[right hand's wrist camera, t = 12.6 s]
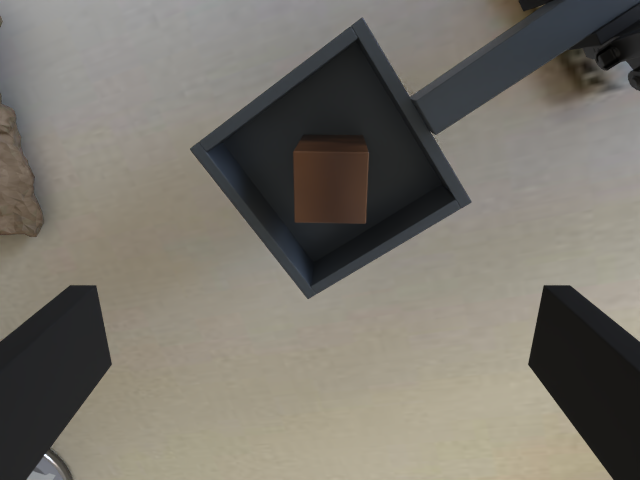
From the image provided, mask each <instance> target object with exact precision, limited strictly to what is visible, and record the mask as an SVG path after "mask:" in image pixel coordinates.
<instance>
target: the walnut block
mask: <svg viewBox="0 0 640 480" xmlns="http://www.w3.org/2000/svg"><path fill="white" fill-rule="evenodd" d="M368 166H369V152H368V149H367V145H366V142H365V139H364V136H363V135H303V136H302V138H301V139H300V141H299V143H298V144H297V146H296V148H295V150H294V151H293V173H294V220H295V222H296V223H353V224H365V223H366V211H367V188H368Z"/></svg>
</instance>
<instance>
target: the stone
mask: <svg viewBox="0 0 640 480" xmlns="http://www.w3.org/2000/svg"><path fill="white" fill-rule="evenodd" d="M2 22H3V21H2V19H1V16H0V27H1V24H2ZM34 178H35V176H34V175H33V173H32V171H31V168H30V167H29V165H28V160H27V159H26V158H25V157H24V155H23V152H22V149H21V136H20V134H19V132H18V129H17V125H16V115H15V112H14V110H13V109H12V108H10V107H8V106H5V105H3V104H2V103H1V94H0V235H10V234H26V235H28V236H31V237H37V235H38V233H39V231H40V229H41V227H42V225H43V224H44V221H43V215H42V211H41V208H40V206H39V203H38V201H37V199H36V197H35V195H34V186H33V183H34Z"/></svg>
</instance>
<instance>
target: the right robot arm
mask: <svg viewBox="0 0 640 480" xmlns="http://www.w3.org/2000/svg"><path fill="white" fill-rule="evenodd" d="M111 365H112V363H111V358H110V353H109V348H108V343H107V338H106V333H105V328H104V323H103V317H102V312H101V307H100V302H99V297H98V292H97V287H96V285H70V286H69V287H68V288H66V289H65V290H64V291H63V292H61V293H60V294H59V295H58V296H56V297H55V298H54V299H53V300H51V301H50V302H49V303H48V304H47V305H45V306H44V307H43V308H42V309H40V310H39V311H38V312H37V313H35V314H34V315H33V316H32V317H30V318H29V319H28V320H27V321H25V322H24V323H23V324H22V325H21V326H19V327H18V328H17V329H16V330H14V331H13V332H12V333H11V334H9V335H8V336H7V337H6V338H4V339H3V340H2V341H1V342H0V480H72V477H71V474H70V472H69V470H68V468H67V467H66V465H65V464H64V462H63V461H62V460H61V459H60V458H59V457H58V456H57V455H56V454H55V453H54V452H53V451H51V450H50V447H51V446H52V445H53V443H54V442H55V440H56V439H57V438H58V436H59V435H60V434H61V432H62V431H63V430H64V428H65V427H66V426H67V424H68V423H69V422H70V420H71V419H72V418H73V416H74V415H75V413H76V412H77V411H78V409H79V408H80V407H81V405H82V404H83V403H84V401H85V400H86V399H87V397H88V396H89V395H90V393H91V392H92V391H93V389H94V388H95V386H96V385H97V384H98V382H99V381H100V380H101V378H102V377H103V376H104V374H105V373H106V372H107V370H108V369H109V368H110V366H111ZM528 365H529V366H530V368H531V369H532V370H533V372H534V373H535V374H536V376H537V377H538V378H539V380H540V381H541V382H542V384H543V385H544V386H545V388H546V389H547V391H548V392H549V393H550V395H551V396H552V397H553V399H554V400H555V401H556V403H557V404H558V405H559V407H560V408H561V409H562V411H563V412H564V413H565V415H566V416H567V418H568V419H569V420H570V422H571V423H572V424H573V426H574V427H575V428H576V430H577V431H578V432H579V434H580V435H581V436H582V438H583V439H584V440H585V442H586V443H587V445H588V446H589V447H590V449H591V450H592V451H593V453H594V454H595V455H596V457H597V458H598V459H599V461H600V462H601V463H602V465H603V466H604V467H605V469H606V470H607V472H608V473H609V474H610V476H611V477H612V478H613V480H640V342H639V341H638V340H637V339H636V338H634V337H633V336H632V335H631V334H629V333H628V332H627V331H626V330H624V329H623V328H622V327H621V326H619V325H618V324H617V323H616V322H615V321H613V320H612V319H611V318H610V317H608V316H607V315H606V314H605V313H603V312H602V311H601V310H600V309H598V308H597V307H596V306H595V305H593V304H592V303H591V302H590V301H589V300H587V299H586V298H585V297H584V296H582V295H581V294H580V293H579V292H577V291H576V290H575V289H574V288H572V287H571V286H570V285H544V287H543V292H542V297H541V302H540V307H539V312H538V317H537V323H536V328H535V333H534V338H533V343H532V348H531V353H530V358H529V363H528Z"/></svg>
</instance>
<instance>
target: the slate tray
mask: <svg viewBox="0 0 640 480" xmlns="http://www.w3.org/2000/svg"><path fill="white" fill-rule="evenodd" d="M638 3H640V0H554V1H551V2H548V3H546V4H545V5H544V6H542V7H541V8H539V9H538V10H536V11H535V12H533V13H532V14H530V15H529V16H527V17H526V18H525V19H523V20H522V21H520V22H519V23H517V24H516V25H514V26H513V27H511V28H510V29H509V30H507V31H506V32H504V33H503V34H501V35H500V36H498V37H497V38H495V39H494V40H492V41H491V42H490V43H488V44H487V45H485V46H484V47H482V48H481V49H479V50H478V51H476V52H475V53H474V54H472V55H471V56H469V57H468V58H466V59H465V60H463V61H462V62H460V63H459V64H458V65H456V66H455V67H453V68H452V69H450V70H449V71H447V72H446V73H444V74H443V75H441V76H440V77H439V78H437V79H436V80H434V81H433V82H431V83H430V84H428V85H427V86H425V87H424V88H423V89H421V90H420V91H418V92H417V93H415V94H414V95H412V96H411V97H409V95H408V93H407V92H406V90H405V88H404V87H403V85H402V83H401V81H400V80H399V78H398V76H397V75H396V73H395V71H394V70H393V68H392V66H391V65H390V63H389V61H388V59H387V58H386V56H385V54H384V53H383V51H382V49H381V48H380V46H379V44H378V43H377V41H376V39H375V37H374V36H373V34H372V32H371V31H370V29H369V27H368V26H367V24H366V22H365V21H364V19H363V18H361V19H360V20H358V21H357V22H356V23H354V24H353V25H352V26H351V27H349V28H348V29H346V30H345V31H344V32H343V33H341V34H340V35H339V36H337V37H336V38H335V39H333V40H332V41H331V42H329V43H328V44H327V45H325V46H324V47H323V48H322V49H320V50H319V51H318V52H316V53H315V54H314V55H312V56H311V57H310V58H308V59H307V60H306V61H304V62H303V63H302V64H301V65H299V66H298V67H297V68H295V69H294V70H293V71H291V72H290V73H289V74H287V75H286V76H285V77H283V78H282V79H281V80H280V81H278V82H277V83H276V84H274V85H273V86H272V87H270V88H269V89H268V90H266V91H265V92H264V93H262V94H261V95H260V96H259V97H257V98H256V99H255V100H253V101H252V102H251V103H249V104H248V105H247V106H245V107H244V108H243V109H242V110H240V111H239V112H238V113H236V114H235V115H234V116H232V117H231V118H230V119H228V120H227V121H226V122H224V123H223V124H222V125H221V126H219V127H218V128H217V129H215V130H214V131H213V132H211V133H210V134H209V135H207V136H206V137H205V138H203V139H202V140H201V141H200V142H198V143H197V144H196V145H194V146H193V147H192V148H190V150H191V151H192V153H193V154H194V155H195V156H196V158H197V159H198V160H199V162H200V163H201V164H202V165H203V167H204V168H205V169H206V170H207V172H208V173H209V174H210V175H211V177H212V178H213V179H214V181H215V182H216V183H217V184H218V186H219V187H220V188H221V189H222V191H223V192H224V193H225V195H226V196H227V197H228V198H229V200H230V201H231V202H232V203H233V205H234V206H235V207H236V208H237V210H238V211H239V212H240V214H241V215H242V216H243V217H244V219H245V220H246V221H247V222H248V224H249V225H250V226H251V228H252V229H253V230H254V231H255V233H256V234H257V235H258V236H259V238H260V239H261V240H262V242H263V243H264V244H265V245H266V247H267V248H268V249H269V250H270V252H271V253H272V254H273V255H274V257H275V258H276V259H277V261H278V262H279V263H280V264H281V266H282V267H283V268H284V269H285V271H286V272H287V273H288V275H289V276H290V277H291V278H292V280H293V281H294V282H295V283H296V285H297V286H298V287H299V289H300V290H301V291H302V292H303V294H304V295H305V296H306V297H307V299H309V298H311V297H312V296H314V295H316V294H318V293H319V292H321V291H323V290H324V289H326V288H328V287H329V286H331V285H333V284H334V283H336V282H338V281H339V280H341V279H343V278H345V277H346V276H348V275H350V274H351V273H353V272H355V271H356V270H358V269H360V268H361V267H363V266H365V265H366V264H368V263H370V262H372V261H373V260H375V259H377V258H378V257H380V256H382V255H383V254H385V253H387V252H388V251H390V250H392V249H393V248H395V247H397V246H399V245H400V244H402V243H404V242H405V241H407V240H409V239H410V238H412V237H414V236H415V235H417V234H419V233H420V232H422V231H424V230H426V229H427V228H429V227H431V226H432V225H434V224H436V223H437V222H439V221H441V220H442V219H444V218H446V217H447V216H449V215H451V214H452V213H454V212H456V211H458V210H459V209H461V208H463V207H465V206H466V205H468V204H470V203H471V200H470V198H469V197H468V195H467V193H466V191H465V190H464V188H463V186H462V185H461V183H460V181H459V180H458V178H457V176H456V175H455V173H454V171H453V169H452V168H451V166H450V164H449V163H448V161H447V159H446V158H445V156H444V154H443V153H442V151H441V149H440V147H439V146H438V144H437V142H436V141H435V139H434V137H433V136H432V134H431V132H432V133H433V134H435V135H437V134H438V133H440V132H441V131H443V130H444V129H446V128H447V127H449V126H451V125H452V124H454V123H455V122H457V121H458V120H460V119H461V118H463V117H464V116H466V115H467V114H469V113H471V112H472V111H474V110H475V109H477V108H478V107H480V106H481V105H483V104H484V103H486V102H487V101H489V100H491V99H492V98H494V97H495V96H497V95H498V94H500V93H501V92H503V91H504V90H506V89H507V88H509V87H511V86H512V85H514V84H515V83H517V82H518V81H520V80H521V79H523V78H524V77H526V76H527V75H529V74H531V73H532V72H534V71H535V70H537V69H538V68H540V67H541V66H543V65H544V64H546V63H547V62H549V61H551V60H552V59H554V58H555V57H557V56H558V55H560V54H561V53H563V52H564V51H566V50H567V49H569V48H571V47H572V46H574V45H575V44H577V43H578V42H580V41H581V40H583V39H584V38H586V37H587V36H589V35H591V34H592V33H593V32H595V31H596V30H598V29H600V28H601V27H603V26H604V25H606V24H607V23H609V22H610V21H612V20H613V19H615V18H616V17H618V16H620V15H621V14H623V13H624V12H626V11H627V10H629V9H630V8H632V7H633V6H635V5H636V4H638ZM430 131H431V132H430ZM303 135H363V136H364V139H365V142H366V145H367V149H368V152H369V166H368V188H367V211H366V223H365V224H353V223H296V222H295V220H294V173H293V151H294V150H295V148H296V146H297V144H298V143H299V141H300V139H301V138H302V136H303Z"/></svg>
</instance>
